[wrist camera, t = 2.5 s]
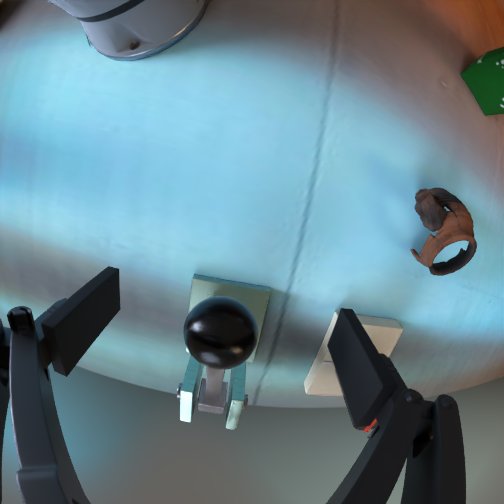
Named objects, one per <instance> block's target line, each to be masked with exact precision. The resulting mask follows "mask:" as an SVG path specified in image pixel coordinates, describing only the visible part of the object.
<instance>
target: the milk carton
mask: <svg viewBox="0 0 504 504" xmlns="http://www.w3.org/2000/svg"><path fill="white" fill-rule="evenodd" d="M461 76H462V78H463V79H464V81H465V82H466V84H467V85H468V87H469V89H470V90H471V92H472V93H473V95H474V97H475V98H476V100H477V102H478V104H479V105H480V107H481V109H482V111H483V113H484V115H485V116H486V115H497V114H504V47H501V48H498V49H495V50H492V51H489V52H487V53H485V54H483V55H482V56H480V57H479V58H477V59H476V60H475V61H474V62H473V63H472V64H471V65H470V66H469V67H468V68H467V69H466V70H465V71H464V72H463V73H462V74H461Z"/></svg>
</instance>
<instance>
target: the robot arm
mask: <svg viewBox="0 0 504 504" xmlns="http://www.w3.org/2000/svg"><path fill="white" fill-rule="evenodd" d="M47 1H49V2H50V3H52V4H54V5H56V6H57V7H59V8H61V9H63V10H64V11H66V12H68V13H69V14H71V15H73V16H74V17H76V18H77V19H79V20H80V21H81V24H82V26H83V28H84V30H85V32H86V35H87V39H88V38H89V40H88V42H89V41H90V43H91V44H92V46H93V47H94V48H95V49H96V50H97V51H98V52H99V53H101V54H103V55H104V56H106V57H108V58H110V59H113V60H118V61H133V60H139V59H143V58H147V57H150V56H153V55H155V54H157V53H160V52H162V51H164V50H166V49H168V48H169V47H171V46H173V45H174V44H176V43H177V42H179V41H180V40H181V39H183V38H184V37H185V36H186V35H187V34H188V33H189V32H190V31H191V30H192V29H193V28H194V27H195V26H196V25H197V23H198V22H199V21H200V19H201V17H202V15H203V13H204V11H205V8H206V4H207V0H47ZM90 43H89V45H90ZM90 47H91V46H90ZM119 310H120V289H119V269H117V268H113V267H107V268H106V269H104V270H103V271H102V272H101V273H99V274H98V275H97V276H95V277H94V278H93V279H92V280H90V281H89V282H88V283H87V284H86V285H84V286H83V287H82V288H81V289H79V290H78V291H77V292H76V293H75V294H73V295H72V296H71V297H70V298H69V299H66V298H64V299H62V300H59V301H57V302H56V303H55V304H53V305H52V306H51V307H50V308H49V309H47V311H45V312H44V313H43V314H42V315H40V316H39V317H38V318H37V319H36V320H35V321H34V319H33V315H32V311H31V309H30V308H28V307H25V306H19V307H15V308H13V309H11V310H10V311H9V312H8V314H7V317H8V321H9V324H10V328H6V327H3V324H2V321H1V319H0V504H1V502H2V476H1V475H2V472H1V471H2V448H3V437H4V429H5V421H6V415H7V408H8V403H9V398H10V403H11V415H12V425H13V433H14V439H15V445H16V451H17V456H18V460H19V465H20V471H17V472H16V481H17V485H18V488H19V492H20V495H21V499H22V502H23V504H91V503H90V502H89V500H88V499H87V497H86V496H85V494H84V492H83V489H82V487H81V485H80V482H79V480H78V478H77V475H76V472H75V470H74V467H73V465H72V462H71V459H70V456H69V453H68V450H67V447H66V444H65V441H64V437H63V434H62V430H61V426H60V423H59V419H58V415H57V410H56V406H55V401H54V397H53V391H52V385H51V379H50V373H49V370H48V365H49V364H50V363H51V362H52V365H53V368H54V371H56V372H58V373H60V374H62V375H64V376H66V377H67V376H68V375H69V373H70V372H71V371H72V369H73V368H74V367H75V365H76V364H77V363H78V361H79V360H80V359H81V357H82V356H83V355H84V354H85V352H86V351H87V350H88V348H89V347H90V346H91V345H92V343H93V342H94V341H95V340H96V338H97V337H98V336H99V335H100V333H101V332H102V331H103V330H104V328H105V327H106V326H107V325H108V323H109V322H110V321H111V320H112V319H113V317H114V316H115V315H116V314H117V313H118V311H119ZM327 347H328V350H329V352H330V355H331V358H332V361H333V363H334V366H335V369H336V372H337V374H338V377H339V380H340V383H341V386H342V389H343V391H344V394H345V397H346V400H347V403H348V406H349V409H350V412H351V415H352V418H353V421H354V424H355V427H366V426H370V425H371V424H372V422H373V421H374V420H375V418H376V420H377V423H378V425H377V426H376V427H375V429H374V430H373V431H372V433H371V434H370V435H369V436H368V438H369V440H368V442H367V443H366V445H365V447H364V449H363V450H362V452H361V454H360V455H359V457H358V459H357V460H356V462H355V463H354V465H353V466H352V468H351V469H350V471H349V473H348V474H347V476H346V477H345V478H344V480H343V482H342V483H341V484H340V486H339V487H338V488H337V490H336V491H335V493H334V494H333V495H332V497H331V498H330V499H329V500H328V502H327V503H326V504H386V502H387V501H388V499H389V497H390V495H391V492H392V490H393V488H394V486H395V484H396V482H397V480H398V477H399V475H400V473H401V471H402V468H403V466H404V463H405V460H406V458H407V465H406V473H405V480H404V488H403V493H402V499H401V504H466V472H465V456H464V445H463V437H462V429H461V423H460V416H459V411H458V405H457V403H456V401H455V400H454V399H453V398H452V397H451V396H448V395H444V394H442V395H439V397H438V398H437V399H436V400H435V402H432V401H426V400H424V399H423V397H422V395H421V394H420V393H419V392H417V391H415V390H413V389H408V388H407V387H406V385H405V383H404V381H403V380H402V378H401V376H400V375H399V373H398V372H397V370H396V368H395V367H394V365H393V363H392V361H391V360H390V359H389V358H388V357H387V356H386V355H385V354H384V353H379V352H378V350H377V349H376V347H375V345H374V344H373V342H372V340H371V339H370V337H369V335H368V334H367V332H366V330H365V329H364V327H363V326H362V324H361V322H360V321H359V319H358V318H357V316H356V314H355V313H354V311H353V310H352V309H345V308H341V310H340V312H339V315H338V318H337V321H336V323H335V326H334V329H333V331H332V334H331V336H330V339H329V342H328V344H327Z"/></svg>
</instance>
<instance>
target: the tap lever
mask: <svg viewBox="0 0 504 504" xmlns="http://www.w3.org/2000/svg"><path fill="white" fill-rule="evenodd" d="M184 340H185V344H186V347H187V349H188V351H189V352H190V354H191V355H192V356H193V357H194V358H195V359H196V360H197V361H198V362H199V363H201V364H202V365H204V366H206V367H207V371H206V379H204V378H202V381H201V387H200V392H199V398H198V410H199V411H204V412H210V413H216V414H223V411H224V407H225V401H226V393H227V386H228V383H227V382H223V378H224V373H225V369H231V368H234V367H237V366H239V365H241V364H242V363H244V362H245V361H246V360H247V359H248V358H249V357H250V356H251V355H252V353H253V352H254V350H255V348H256V345H257V342H258V325H257V322H256V319H255V317H254V315H253V314H252V312H251V311H250V310H249V308H248V307H247V306H245V305H244V304H243V303H241V302H240V301H238V300H236V299H234V298H231V297H226V296H216V297H210V298H207V299H205V300H203V301H201V302H200V303H198V304H197V305H196V306H195V307H194V308H193V309H192V310H191V311H190V313H189V314H188V316H187V318H186V321H185V324H184Z"/></svg>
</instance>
